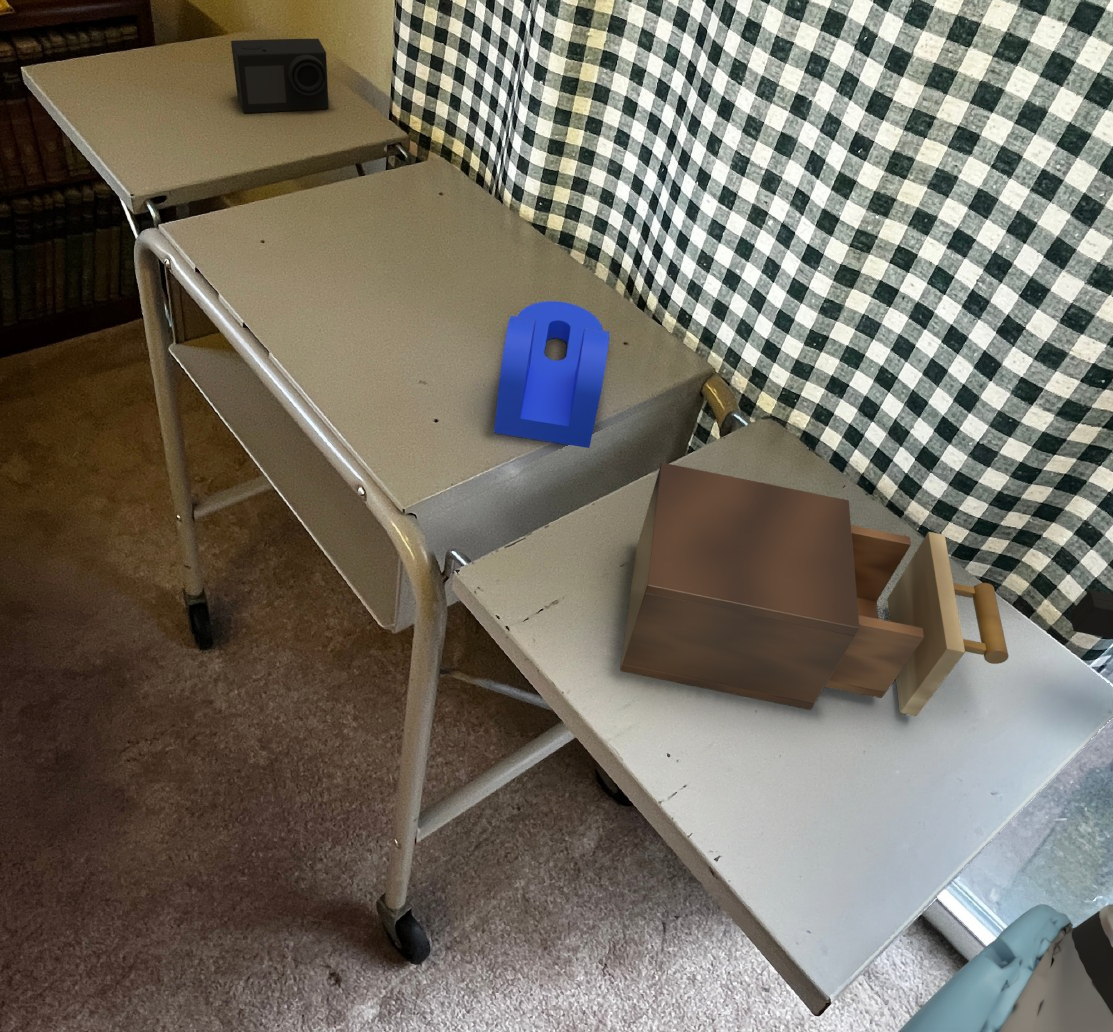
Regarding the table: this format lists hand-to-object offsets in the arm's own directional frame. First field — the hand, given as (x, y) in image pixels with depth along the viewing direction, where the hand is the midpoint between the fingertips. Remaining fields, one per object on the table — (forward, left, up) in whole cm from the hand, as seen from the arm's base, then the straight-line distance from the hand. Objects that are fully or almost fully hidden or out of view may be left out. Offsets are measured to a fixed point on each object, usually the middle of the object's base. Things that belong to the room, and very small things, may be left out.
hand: (1081, 610), depth 64 cm
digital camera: (+103, -9, -9) cm, 104 cm away
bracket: (+46, +2, -9) cm, 47 cm away
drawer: (+10, +7, -8) cm, 15 cm away
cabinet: (+18, +13, -9) cm, 24 cm away
